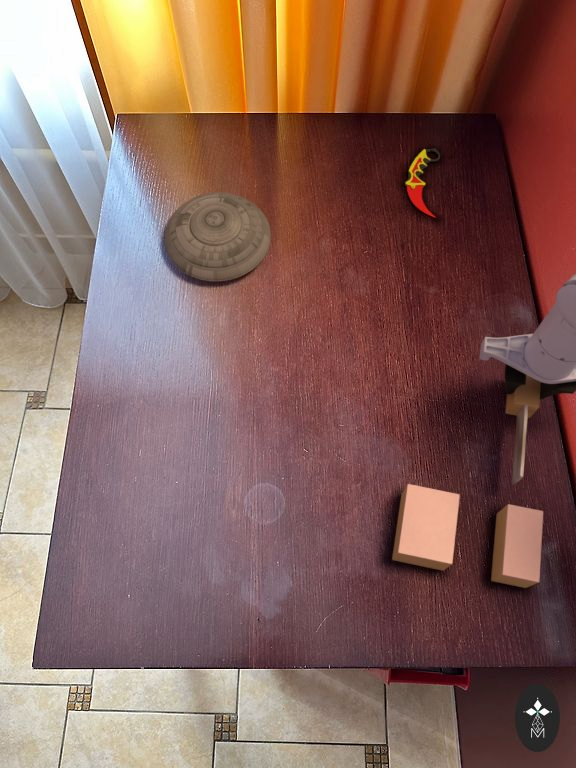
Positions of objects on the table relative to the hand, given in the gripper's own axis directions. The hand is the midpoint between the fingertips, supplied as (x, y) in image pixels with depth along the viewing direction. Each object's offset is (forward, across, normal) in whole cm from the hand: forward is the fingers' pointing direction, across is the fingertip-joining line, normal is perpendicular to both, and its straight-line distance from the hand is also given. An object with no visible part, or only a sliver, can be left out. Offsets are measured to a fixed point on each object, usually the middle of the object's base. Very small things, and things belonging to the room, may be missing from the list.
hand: (522, 389), depth 84 cm
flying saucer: (+4, +43, -16) cm, 46 cm away
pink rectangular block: (+4, +9, +19) cm, 22 cm away
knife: (+4, +16, -33) cm, 37 cm away
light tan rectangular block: (+4, -1, +19) cm, 19 cm away
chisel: (+1, 0, +4) cm, 5 cm away
